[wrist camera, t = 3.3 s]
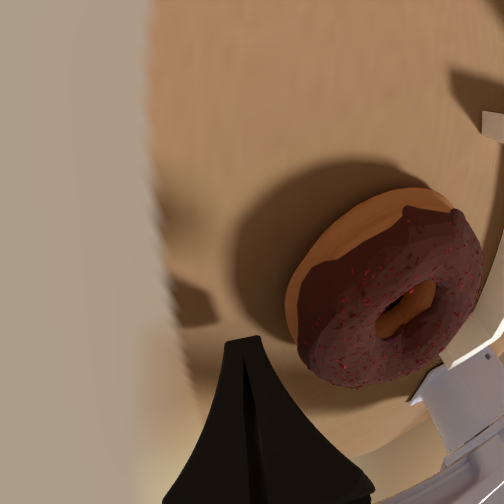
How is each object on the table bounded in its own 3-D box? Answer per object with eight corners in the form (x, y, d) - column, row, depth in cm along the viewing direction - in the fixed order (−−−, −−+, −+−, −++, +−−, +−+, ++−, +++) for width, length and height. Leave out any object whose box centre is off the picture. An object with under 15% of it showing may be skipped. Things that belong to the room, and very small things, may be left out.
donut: (300, 162, 9) (352, 211, 6) (472, 193, 11) (525, 232, 7) (265, 352, 14) (279, 417, 11) (407, 333, 16) (433, 378, 13)
